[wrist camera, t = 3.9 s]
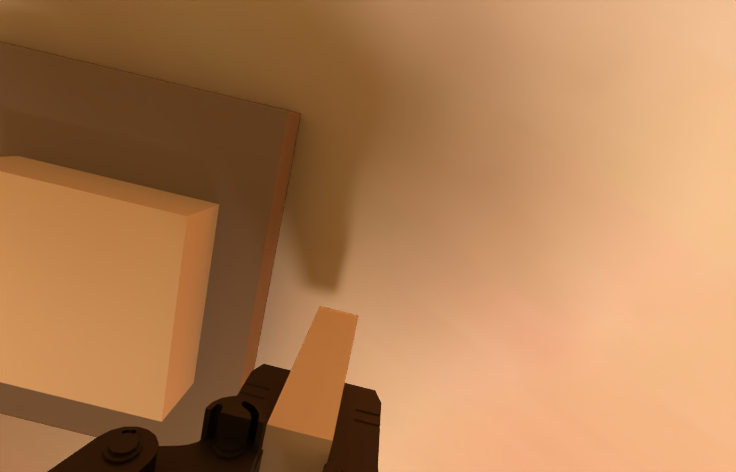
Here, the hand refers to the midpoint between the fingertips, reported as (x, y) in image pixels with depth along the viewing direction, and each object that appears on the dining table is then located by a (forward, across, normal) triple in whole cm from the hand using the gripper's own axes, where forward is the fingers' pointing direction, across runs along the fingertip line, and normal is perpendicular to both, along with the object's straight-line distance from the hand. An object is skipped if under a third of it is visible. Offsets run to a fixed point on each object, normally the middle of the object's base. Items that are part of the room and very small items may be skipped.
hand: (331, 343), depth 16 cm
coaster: (+1, +9, 0) cm, 9 cm away
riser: (+3, +10, 0) cm, 10 cm away
